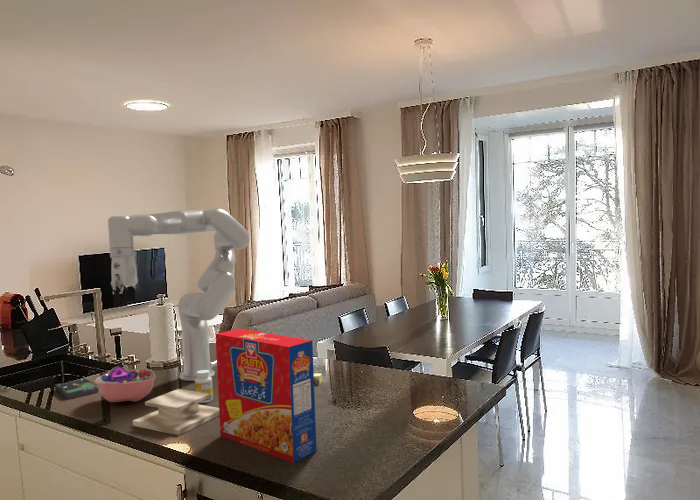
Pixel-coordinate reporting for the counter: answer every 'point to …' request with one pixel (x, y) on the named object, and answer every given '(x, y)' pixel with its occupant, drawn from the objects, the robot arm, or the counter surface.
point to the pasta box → (267, 392)
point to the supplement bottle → (204, 384)
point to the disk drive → (76, 388)
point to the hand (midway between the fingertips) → (125, 303)
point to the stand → (177, 412)
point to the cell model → (125, 384)
